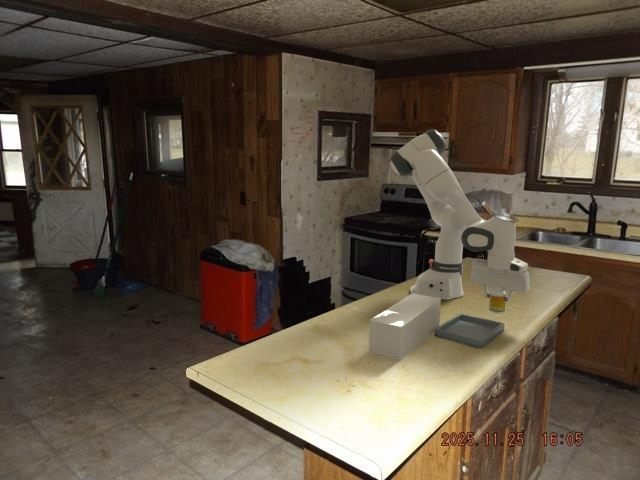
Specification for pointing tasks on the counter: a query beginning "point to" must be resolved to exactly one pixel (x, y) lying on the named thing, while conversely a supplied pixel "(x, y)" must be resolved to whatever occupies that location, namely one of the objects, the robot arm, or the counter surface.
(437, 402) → the counter surface
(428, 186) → the robot arm
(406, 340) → the light grey rectangular block
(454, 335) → the slate tray
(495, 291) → the supplement bottle
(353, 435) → the counter surface
